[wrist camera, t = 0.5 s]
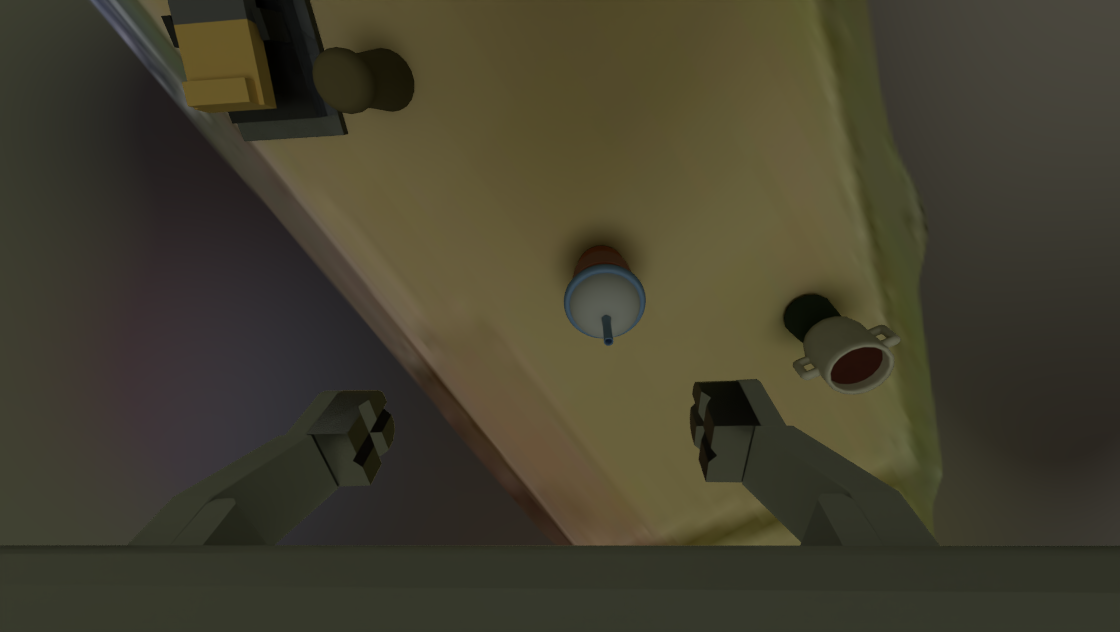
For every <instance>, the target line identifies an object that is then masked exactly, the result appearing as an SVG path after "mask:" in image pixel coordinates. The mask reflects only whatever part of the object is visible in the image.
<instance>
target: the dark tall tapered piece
mask: <svg viewBox="0 0 1120 632" xmlns="http://www.w3.org/2000/svg"><path fill="white" fill-rule="evenodd" d="M312 73H313V81H314V84H315V87H316V89H317V92H318V93H319V95H320V96H321V97H322V99H323V100H324V101H325V102H326V103H327V104H328V105H329V106H330V107H332V108H334V109H336V110H338V111H340V112H343V113H349V114H354V113H359V112H363V111H364V110H366V109H367V108H374V109H380V110H386V111H391V112H393V111H399V110H401V109H403V108H405V107H406V106H407V105H408V104H409V102H410V101H411V100H412V97H413V93H414V79H413V75H412V72H411V70H410V68H409V66H408V65H407V63H406V61H405V60H404V59H403V58H402V57H401V56H400V55H399V54H397V53H395V52H393V51H391V50H389V49H383V48H379V49H374V50H369V51H365V52H361V53H355V52H353V51H351V50H349V49H344V48H339V47H334V48H329V49H326V50H325V51H323V52H322V53H320V54H319V55H318V56H317V58H316V60H315V62H314V65H313V71H312Z"/></svg>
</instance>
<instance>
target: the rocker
mask: <svg viewBox="0 0 1120 632" xmlns="http://www.w3.org/2000/svg"><path fill="white" fill-rule="evenodd" d="M168 4H169V8H170V12H171V16H172V20H173V24H174V28H175V32H176V36H177V40H178V44H179V48H180V52H181V56H182V60H183V64H184V68H185V72H186V76H187V81H188V82H182V84H183V88H184V92H185V96H186V100H187V104H188V106H190V107H194V109H195V110H199V111H203V112H207V113H216V112H230V111H245V110H259V109H274V108H277V107H276V102H275V97H274V92H273V87H272V82H271V77H270V72H269V67H268V62H267V57H266V52H265V47H264V42H263V40H262V39H261V37H260V34H259V31H258V28H257V25H256V22H255V19H254V16H253V13H252V11H251V8H256V3H255V0H168Z"/></svg>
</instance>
